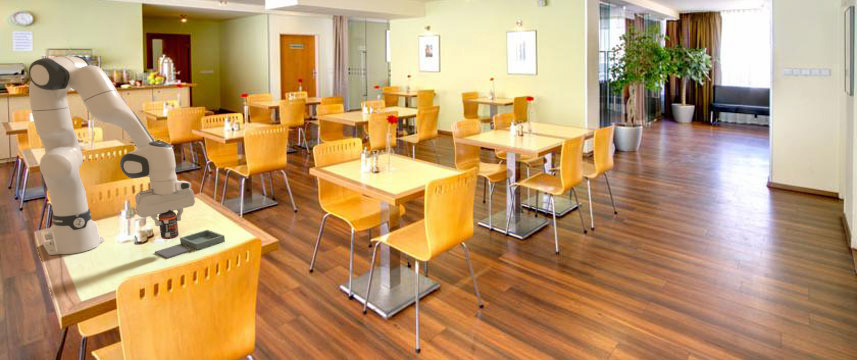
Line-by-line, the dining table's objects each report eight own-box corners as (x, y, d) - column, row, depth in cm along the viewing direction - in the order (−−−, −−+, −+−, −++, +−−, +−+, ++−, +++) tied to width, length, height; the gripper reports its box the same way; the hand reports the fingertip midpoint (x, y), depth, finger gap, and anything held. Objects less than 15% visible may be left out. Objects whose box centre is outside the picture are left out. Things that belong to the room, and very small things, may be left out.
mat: (154, 253, 196) (154, 251, 195) (178, 245, 203) (178, 244, 202) (167, 258, 190) (167, 257, 190) (191, 251, 197) (191, 249, 197)
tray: (180, 243, 205) (179, 237, 204) (208, 235, 214) (207, 229, 213) (197, 250, 198) (196, 244, 197) (224, 241, 207) (224, 235, 207)
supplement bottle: (172, 240, 192) (167, 210, 189) (157, 239, 193) (153, 209, 190) (182, 234, 197) (178, 205, 195) (168, 233, 199) (164, 204, 196)
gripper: (139, 193, 180) (144, 232, 184) (195, 182, 197) (198, 218, 200) (130, 190, 184) (135, 228, 187) (186, 180, 200) (189, 214, 203)
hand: (168, 223), depth 194 cm, fingers closed on supplement bottle, 6 cm apart
